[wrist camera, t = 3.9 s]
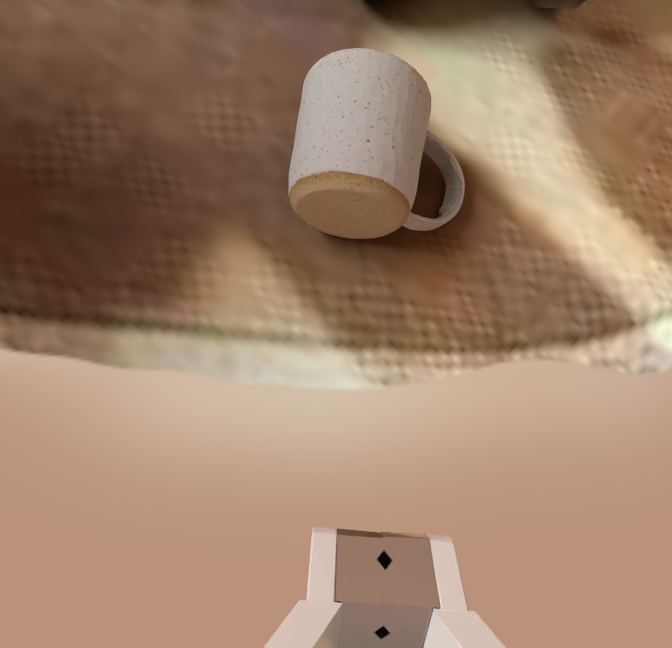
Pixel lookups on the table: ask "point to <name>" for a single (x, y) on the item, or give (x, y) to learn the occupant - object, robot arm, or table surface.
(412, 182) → the ceramic mug
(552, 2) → the trolley
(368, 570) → the robot arm
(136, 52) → the table surface
